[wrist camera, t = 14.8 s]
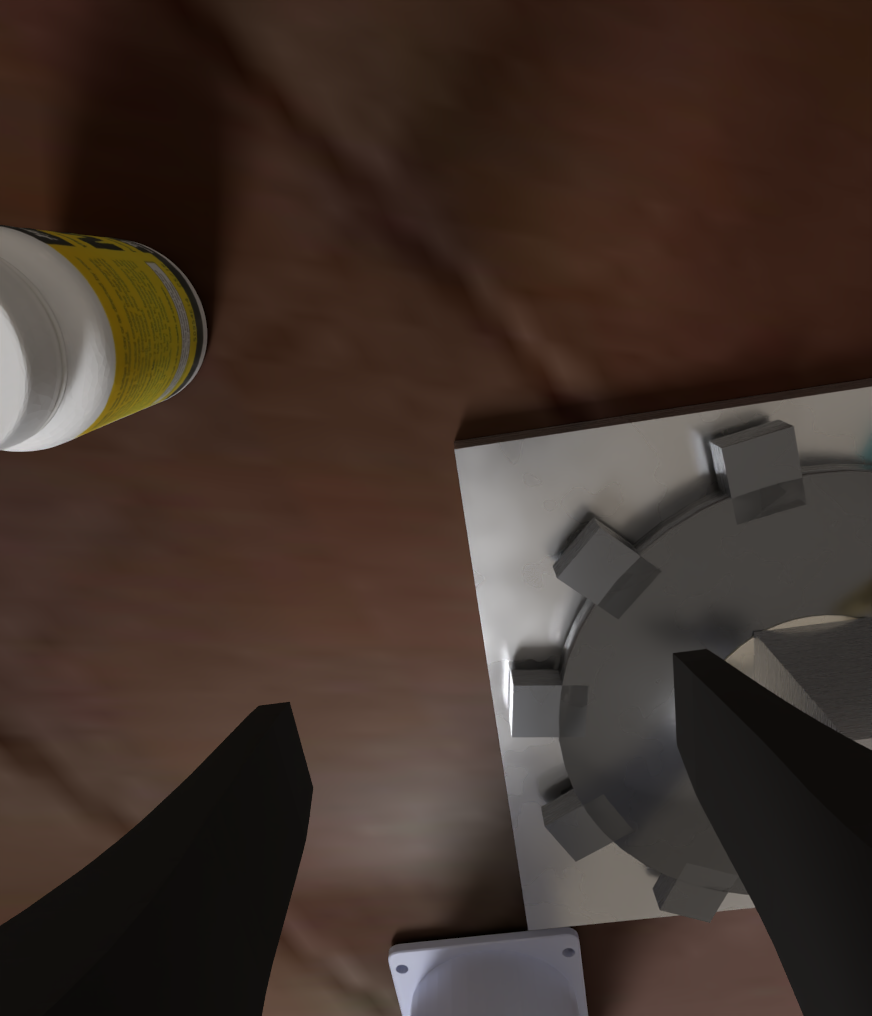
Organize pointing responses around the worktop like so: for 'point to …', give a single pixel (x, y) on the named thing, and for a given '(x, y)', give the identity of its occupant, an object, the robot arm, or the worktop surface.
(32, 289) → the supplement bottle
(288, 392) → the worktop surface
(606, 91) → the worktop surface
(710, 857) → the sprocket
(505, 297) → the worktop surface
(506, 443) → the base plate
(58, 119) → the worktop surface
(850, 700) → the link block
